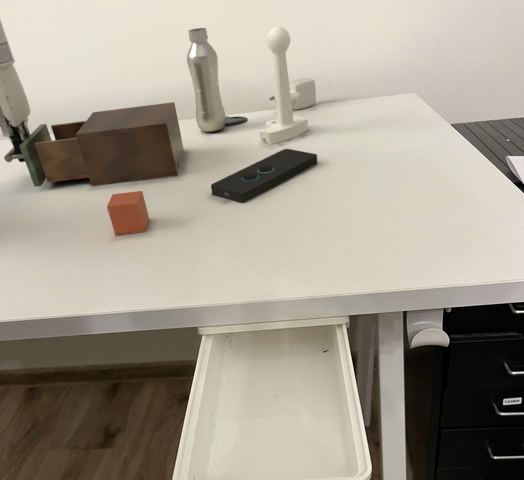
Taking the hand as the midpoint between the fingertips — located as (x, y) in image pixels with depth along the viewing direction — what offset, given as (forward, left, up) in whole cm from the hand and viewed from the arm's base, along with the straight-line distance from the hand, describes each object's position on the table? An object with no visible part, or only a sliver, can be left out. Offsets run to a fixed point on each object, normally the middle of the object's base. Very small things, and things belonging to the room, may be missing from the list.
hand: (28, 159), depth 108 cm
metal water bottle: (+35, +19, -4) cm, 40 cm away
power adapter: (+54, +28, -4) cm, 61 cm away
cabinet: (+21, 0, -4) cm, 22 cm away
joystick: (+50, +10, -4) cm, 52 cm away
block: (+24, -28, -4) cm, 37 cm away
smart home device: (+46, -14, -4) cm, 49 cm away
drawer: (+7, 0, -3) cm, 8 cm away
